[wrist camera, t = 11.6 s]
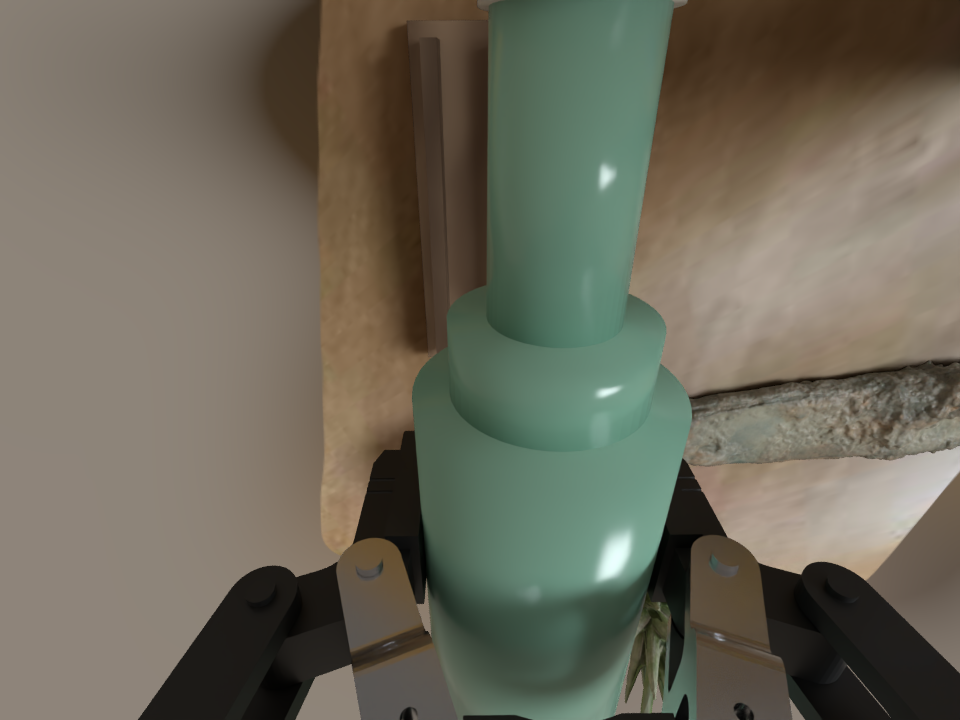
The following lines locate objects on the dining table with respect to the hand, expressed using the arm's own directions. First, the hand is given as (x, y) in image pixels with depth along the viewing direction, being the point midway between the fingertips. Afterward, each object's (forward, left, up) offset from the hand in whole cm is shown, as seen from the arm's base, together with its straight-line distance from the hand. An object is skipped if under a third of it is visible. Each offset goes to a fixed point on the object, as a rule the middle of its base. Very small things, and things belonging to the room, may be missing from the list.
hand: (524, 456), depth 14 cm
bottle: (0, +9, +3) cm, 9 cm away
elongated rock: (-32, +18, -29) cm, 47 cm away
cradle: (+2, 0, -28) cm, 28 cm away
